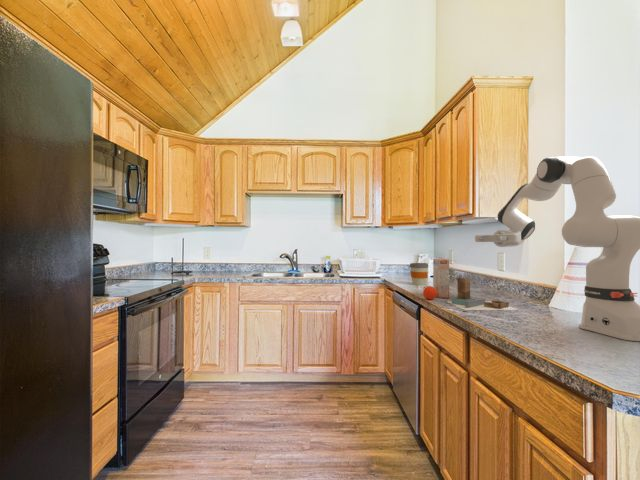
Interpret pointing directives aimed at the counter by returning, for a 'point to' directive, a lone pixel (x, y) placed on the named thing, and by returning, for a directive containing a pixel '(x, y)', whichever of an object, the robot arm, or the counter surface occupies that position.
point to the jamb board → (478, 305)
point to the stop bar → (463, 288)
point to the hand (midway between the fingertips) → (488, 238)
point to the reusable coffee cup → (419, 273)
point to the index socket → (460, 300)
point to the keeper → (496, 304)
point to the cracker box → (441, 277)
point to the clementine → (429, 292)
